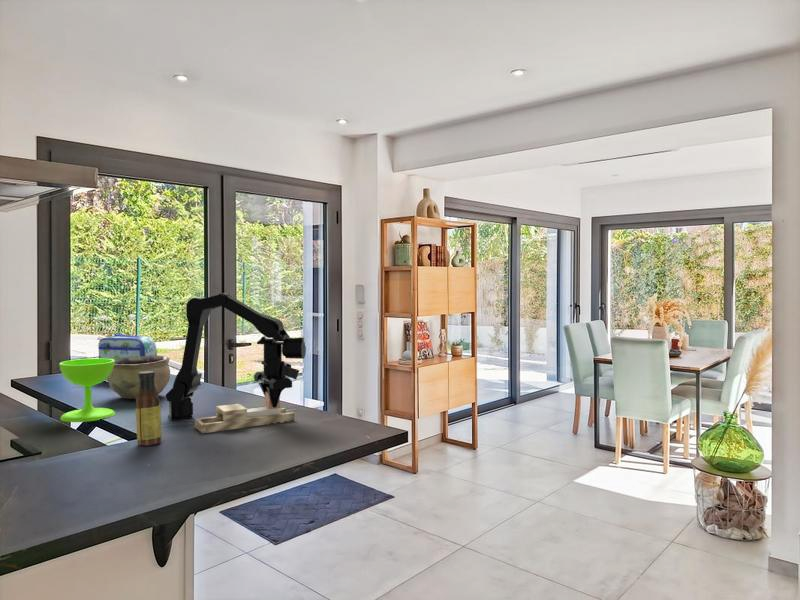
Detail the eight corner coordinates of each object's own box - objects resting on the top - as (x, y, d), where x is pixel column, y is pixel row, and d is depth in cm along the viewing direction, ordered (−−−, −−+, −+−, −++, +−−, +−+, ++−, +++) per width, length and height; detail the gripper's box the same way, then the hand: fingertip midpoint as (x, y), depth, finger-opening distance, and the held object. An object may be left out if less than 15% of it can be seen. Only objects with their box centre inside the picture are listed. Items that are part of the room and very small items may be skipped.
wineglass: (110, 420, 183) (109, 364, 182) (53, 423, 178) (52, 366, 178) (119, 409, 198) (119, 357, 198) (67, 412, 194) (66, 359, 193)
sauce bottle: (166, 441, 159) (166, 370, 159) (150, 447, 154) (149, 374, 153) (147, 439, 162) (147, 369, 161) (130, 445, 156) (130, 372, 155)
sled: (236, 422, 176) (236, 397, 175) (231, 419, 179) (231, 395, 179) (280, 416, 184) (280, 392, 183) (275, 414, 187) (275, 390, 187)
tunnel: (201, 433, 168) (201, 414, 168) (194, 427, 175) (194, 408, 175) (294, 420, 184) (294, 403, 184) (284, 415, 191) (284, 398, 191)
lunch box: (94, 382, 249) (93, 334, 248) (114, 378, 259) (114, 332, 258) (140, 386, 240) (140, 337, 239) (159, 382, 250) (159, 334, 249)
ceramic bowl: (176, 400, 214) (176, 360, 213) (112, 406, 202) (111, 364, 201) (163, 390, 232) (163, 353, 232) (103, 396, 220) (103, 357, 220)
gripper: (307, 359, 180) (307, 408, 181) (285, 353, 196) (285, 398, 197) (274, 362, 174) (273, 413, 175) (253, 355, 190) (253, 401, 190)
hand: (272, 406), depth 184 cm, fingers closed on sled, 3 cm apart
